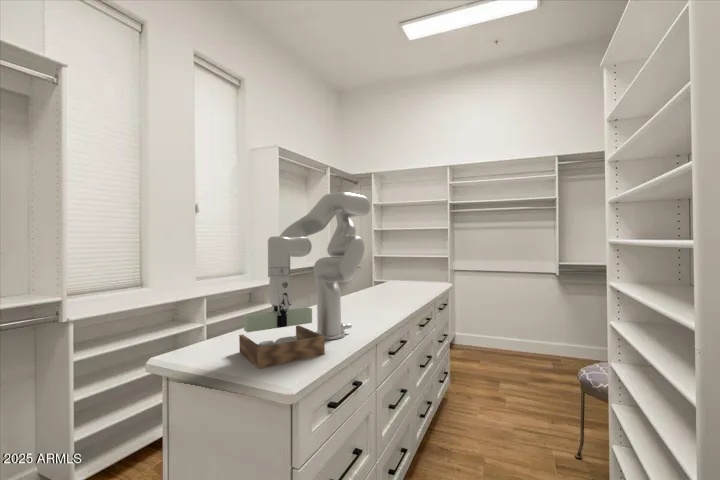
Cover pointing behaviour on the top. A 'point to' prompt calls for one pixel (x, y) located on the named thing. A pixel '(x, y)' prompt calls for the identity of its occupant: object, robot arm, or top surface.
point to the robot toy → (278, 341)
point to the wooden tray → (283, 349)
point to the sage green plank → (270, 319)
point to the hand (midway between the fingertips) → (279, 325)
